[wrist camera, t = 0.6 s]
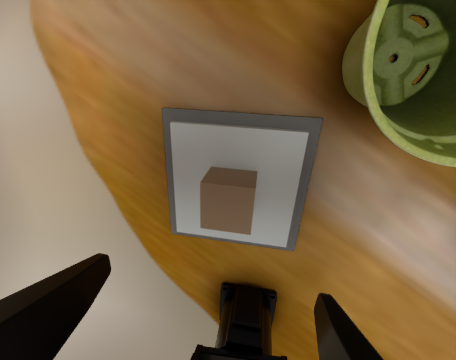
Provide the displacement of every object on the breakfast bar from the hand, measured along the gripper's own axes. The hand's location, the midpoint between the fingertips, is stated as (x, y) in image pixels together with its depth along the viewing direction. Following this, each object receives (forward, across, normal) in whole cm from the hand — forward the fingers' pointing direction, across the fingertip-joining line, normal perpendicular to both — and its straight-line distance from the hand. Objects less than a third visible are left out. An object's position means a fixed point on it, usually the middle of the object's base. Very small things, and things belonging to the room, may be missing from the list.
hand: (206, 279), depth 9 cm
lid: (+11, 0, +1) cm, 11 cm away
